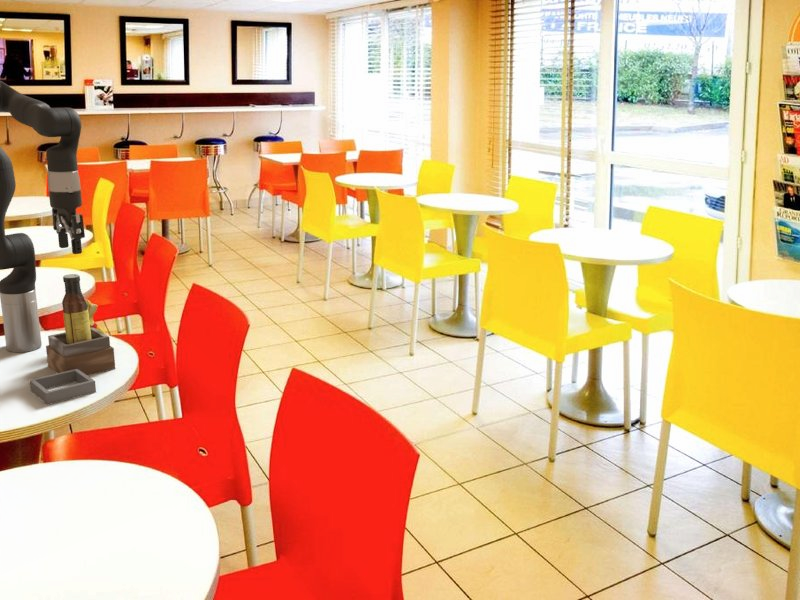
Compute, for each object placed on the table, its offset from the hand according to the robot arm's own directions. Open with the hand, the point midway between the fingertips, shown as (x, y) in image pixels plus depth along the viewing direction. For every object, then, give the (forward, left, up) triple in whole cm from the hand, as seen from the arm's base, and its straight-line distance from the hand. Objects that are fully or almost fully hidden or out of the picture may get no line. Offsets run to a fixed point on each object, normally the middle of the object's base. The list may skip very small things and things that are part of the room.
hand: (70, 250), depth 200 cm
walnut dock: (0, 0, -33) cm, 33 cm away
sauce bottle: (0, 0, -27) cm, 27 cm away
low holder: (+13, -10, -33) cm, 37 cm away
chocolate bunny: (-12, +7, -33) cm, 36 cm away
